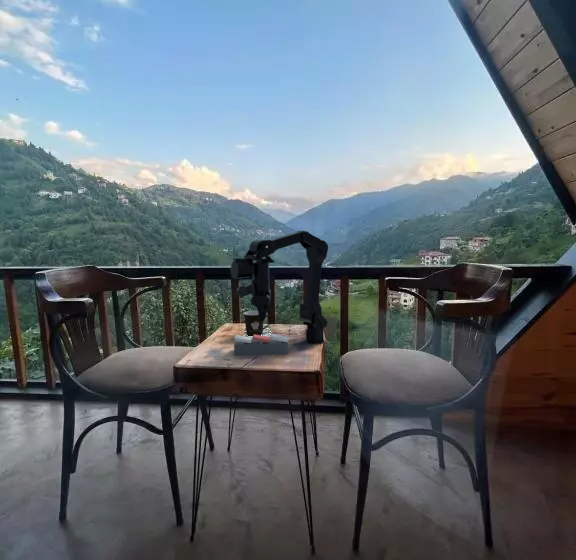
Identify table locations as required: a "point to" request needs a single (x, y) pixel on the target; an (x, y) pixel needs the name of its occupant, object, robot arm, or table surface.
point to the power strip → (260, 348)
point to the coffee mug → (254, 323)
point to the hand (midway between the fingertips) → (262, 320)
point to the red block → (261, 338)
